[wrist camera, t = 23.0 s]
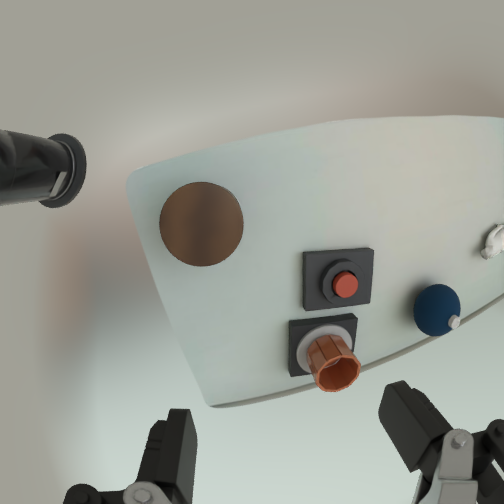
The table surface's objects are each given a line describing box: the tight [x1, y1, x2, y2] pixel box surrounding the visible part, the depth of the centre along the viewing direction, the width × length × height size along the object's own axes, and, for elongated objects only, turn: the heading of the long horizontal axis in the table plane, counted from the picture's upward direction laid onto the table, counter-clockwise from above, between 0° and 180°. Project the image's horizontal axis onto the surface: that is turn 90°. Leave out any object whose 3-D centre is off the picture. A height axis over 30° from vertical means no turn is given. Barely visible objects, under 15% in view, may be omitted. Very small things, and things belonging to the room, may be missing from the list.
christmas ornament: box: [414, 284, 461, 336], centre depth 36 cm, size 8×8×10 cm
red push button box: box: [303, 248, 374, 311], centre depth 37 cm, size 10×8×3 cm
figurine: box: [481, 224, 504, 259], centre depth 37 cm, size 7×4×18 cm
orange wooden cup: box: [306, 334, 361, 392], centre depth 35 cm, size 6×6×6 cm
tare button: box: [333, 272, 358, 298], centre depth 35 cm, size 3×3×1 cm
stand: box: [159, 182, 243, 266], centre depth 30 cm, size 8×8×10 cm
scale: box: [289, 313, 358, 377], centre depth 39 cm, size 10×9×3 cm
